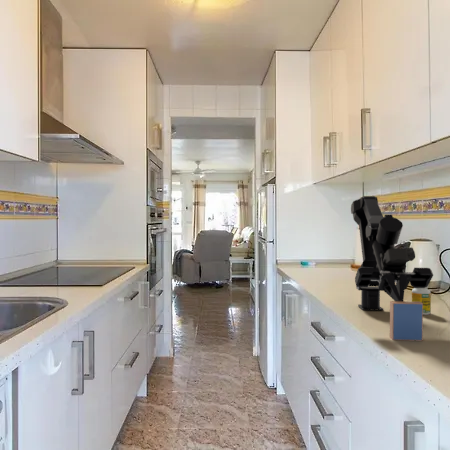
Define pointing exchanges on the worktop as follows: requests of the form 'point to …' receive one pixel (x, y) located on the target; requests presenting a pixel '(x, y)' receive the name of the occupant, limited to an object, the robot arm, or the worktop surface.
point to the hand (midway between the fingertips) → (401, 304)
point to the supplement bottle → (422, 298)
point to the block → (406, 320)
